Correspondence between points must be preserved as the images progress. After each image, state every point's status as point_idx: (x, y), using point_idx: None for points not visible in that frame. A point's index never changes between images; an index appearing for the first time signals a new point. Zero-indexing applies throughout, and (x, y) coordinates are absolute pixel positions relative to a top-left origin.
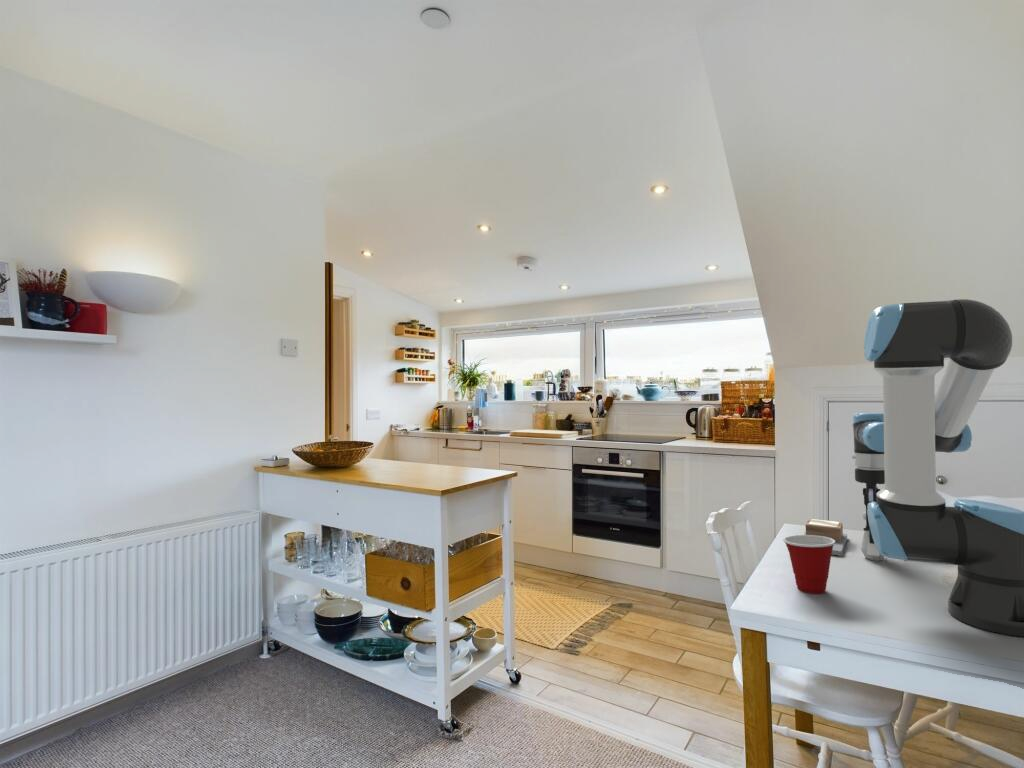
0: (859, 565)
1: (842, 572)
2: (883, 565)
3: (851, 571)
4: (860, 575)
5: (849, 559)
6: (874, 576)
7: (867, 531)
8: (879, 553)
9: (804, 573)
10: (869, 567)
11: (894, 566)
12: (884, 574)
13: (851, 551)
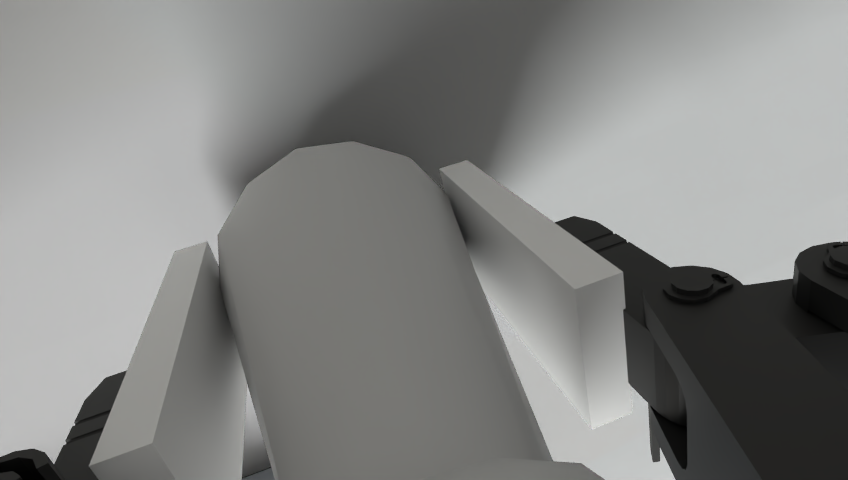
0: (618, 222)
1: (826, 226)
2: (498, 95)
3: (783, 200)
4: (842, 128)
5: (506, 328)
6: (826, 51)
7: (624, 393)
8: (428, 177)
9: None
10: (627, 154)
11: (463, 10)
12: (748, 9)
13: (249, 424)
